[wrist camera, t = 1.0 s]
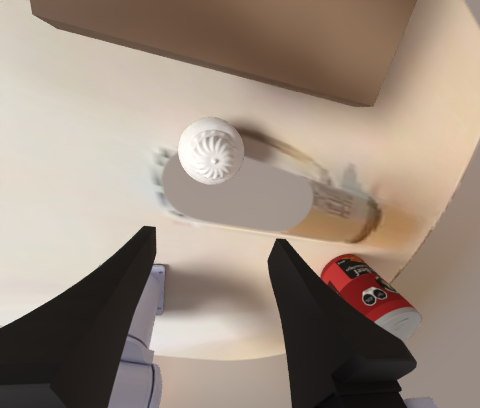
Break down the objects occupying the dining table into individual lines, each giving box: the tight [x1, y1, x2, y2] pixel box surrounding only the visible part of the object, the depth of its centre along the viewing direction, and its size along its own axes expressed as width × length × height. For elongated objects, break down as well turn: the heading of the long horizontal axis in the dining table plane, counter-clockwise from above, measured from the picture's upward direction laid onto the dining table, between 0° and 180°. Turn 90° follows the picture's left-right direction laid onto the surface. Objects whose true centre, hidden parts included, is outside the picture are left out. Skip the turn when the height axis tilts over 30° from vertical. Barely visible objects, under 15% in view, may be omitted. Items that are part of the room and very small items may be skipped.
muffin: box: [178, 117, 244, 185], centre depth 19 cm, size 6×6×7 cm
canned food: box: [321, 254, 422, 342], centre depth 30 cm, size 8×8×11 cm
